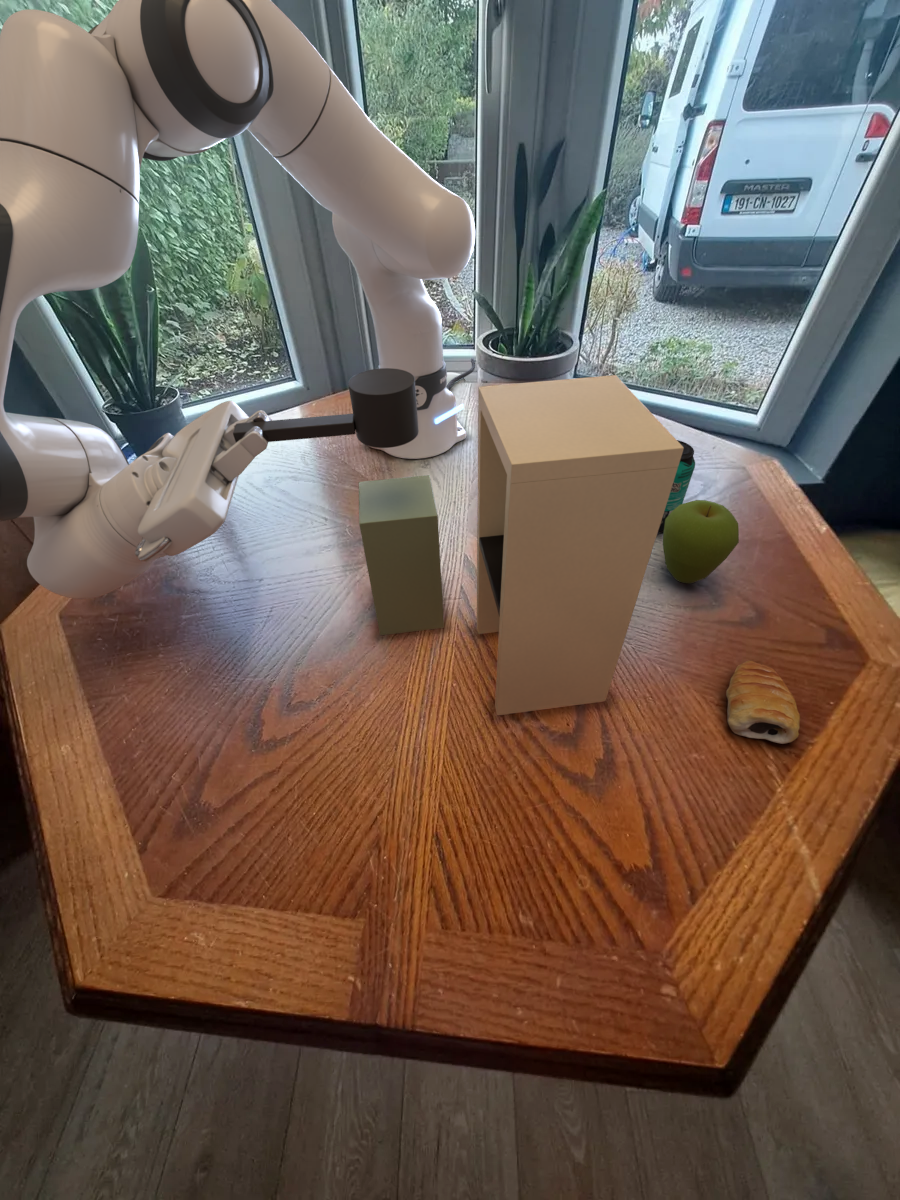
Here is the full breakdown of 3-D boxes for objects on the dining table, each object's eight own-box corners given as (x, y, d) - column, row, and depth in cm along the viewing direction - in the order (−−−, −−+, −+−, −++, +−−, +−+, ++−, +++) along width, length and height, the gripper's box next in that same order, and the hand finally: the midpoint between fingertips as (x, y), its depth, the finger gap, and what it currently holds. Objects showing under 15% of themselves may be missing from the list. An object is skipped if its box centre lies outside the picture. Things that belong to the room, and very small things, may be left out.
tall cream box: (476, 627, 65) (478, 386, 44) (570, 616, 66) (616, 374, 45) (496, 715, 56) (511, 464, 35) (605, 701, 56) (684, 447, 35)
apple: (637, 566, 72) (658, 495, 64) (687, 551, 74) (713, 480, 66) (678, 607, 66) (706, 534, 58) (731, 589, 68) (766, 517, 60)
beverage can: (630, 504, 83) (648, 433, 74) (676, 512, 81) (700, 440, 72) (624, 529, 78) (642, 456, 70) (673, 538, 76) (698, 465, 68)
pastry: (718, 665, 59) (730, 643, 57) (783, 678, 58) (798, 656, 55) (725, 735, 53) (738, 715, 50) (798, 752, 52) (816, 731, 49)
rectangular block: (377, 591, 70) (358, 481, 58) (436, 585, 71) (429, 474, 59) (380, 635, 64) (359, 523, 52) (444, 628, 65) (437, 515, 53)
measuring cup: (244, 431, 51) (228, 380, 48) (415, 416, 53) (412, 365, 49) (235, 461, 47) (216, 408, 44) (421, 444, 48) (417, 391, 45)
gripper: (96, 546, 43) (216, 456, 39) (161, 432, 57) (254, 358, 53) (163, 590, 47) (278, 513, 43) (208, 473, 61) (297, 407, 58)
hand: (265, 426), depth 48 cm, fingers closed on measuring cup
